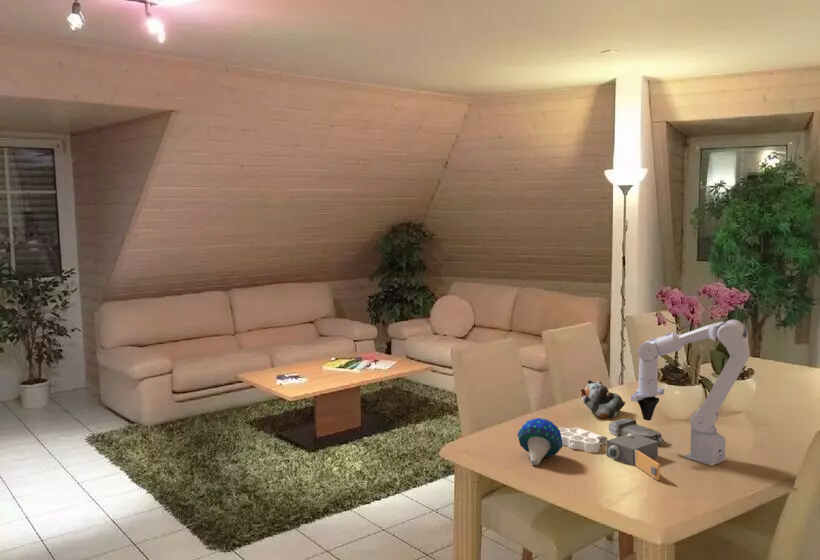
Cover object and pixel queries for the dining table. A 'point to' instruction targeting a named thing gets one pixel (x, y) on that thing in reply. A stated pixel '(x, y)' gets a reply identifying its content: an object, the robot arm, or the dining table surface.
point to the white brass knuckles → (582, 439)
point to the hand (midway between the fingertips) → (647, 419)
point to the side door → (647, 465)
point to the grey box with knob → (631, 447)
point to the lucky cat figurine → (601, 400)
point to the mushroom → (540, 439)
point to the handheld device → (634, 430)
